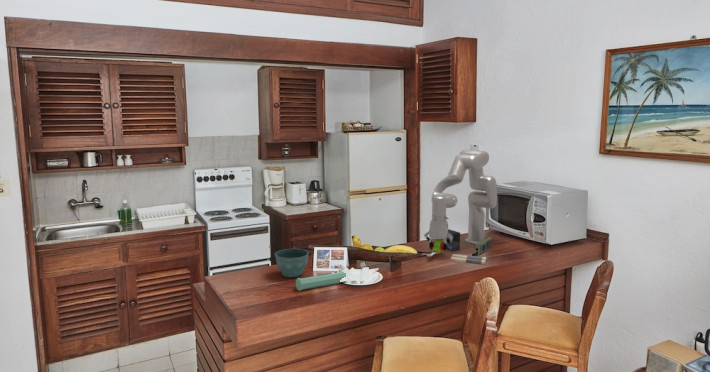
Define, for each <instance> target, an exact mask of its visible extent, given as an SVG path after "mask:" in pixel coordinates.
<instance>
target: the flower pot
mask: <svg viewBox="0 0 710 372" xmlns="http://www.w3.org/2000/svg"><path fill="white" fill-rule="evenodd" d="M274 256H275V261H276V265H277V267H278V269H279V271H280V273H281V275H282V277H285V278H299V277H300V276H301V275H302V274H303V271H304V270H305V268H306V266H308V265H307V264H308V259H309V251H308V250H305V249H303V248H302V249H300V248H286V249H281V250H278V251H276V252H275V253H274Z"/></svg>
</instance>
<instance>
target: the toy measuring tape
mask: <svg viewBox="0 0 710 372" xmlns="http://www.w3.org/2000/svg"><path fill="white" fill-rule="evenodd" d="M432 242H433V248H432V250H431V251H432V252H431V253H429V254H428V253H427V254H426V257H427V258H431V257H432V256H434V255H435V254H440V253H442V252H443V251H444V241H443V240H441V239H434V241H432Z"/></svg>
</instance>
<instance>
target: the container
mask: <svg viewBox="0 0 710 372" xmlns="http://www.w3.org/2000/svg"><path fill="white" fill-rule="evenodd" d="M344 272H345V271H341V272H333V273H327V274H321V275H315V276H310V277H309V276H308V277H304V278H303V277H302V278H300V277H296V280H295V287H296V290H297V291H299V292H302V290H303V291H304V290H309V289H315V288H321V287H322V288H323V287H325V286H332V285H337V284H342V283H341V282H340V280H341V279H342V278H344V277H346V273H347V272H345V273H344Z"/></svg>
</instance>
